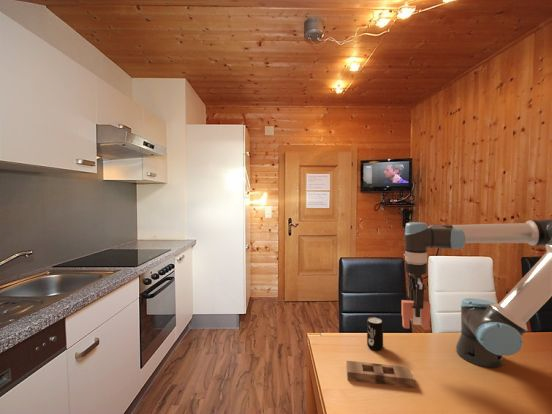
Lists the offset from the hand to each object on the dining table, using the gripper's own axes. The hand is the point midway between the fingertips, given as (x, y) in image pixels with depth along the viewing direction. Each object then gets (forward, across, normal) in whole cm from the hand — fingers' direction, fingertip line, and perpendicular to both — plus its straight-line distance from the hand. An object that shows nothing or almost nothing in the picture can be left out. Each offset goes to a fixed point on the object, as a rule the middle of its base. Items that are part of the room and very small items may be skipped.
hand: (415, 322), depth 105 cm
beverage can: (+17, -10, -14) cm, 24 cm away
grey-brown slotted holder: (+17, +11, -16) cm, 25 cm away
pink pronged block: (+2, 0, 0) cm, 2 cm away
